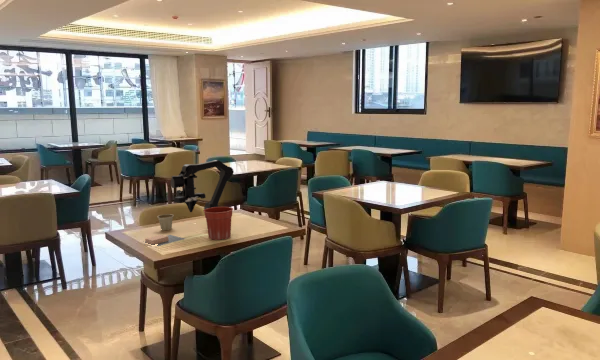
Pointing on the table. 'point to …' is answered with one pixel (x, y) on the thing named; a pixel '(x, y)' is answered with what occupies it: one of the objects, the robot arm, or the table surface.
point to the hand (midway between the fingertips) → (191, 212)
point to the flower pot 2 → (218, 222)
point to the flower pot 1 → (165, 221)
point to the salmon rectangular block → (156, 239)
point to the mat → (171, 240)
